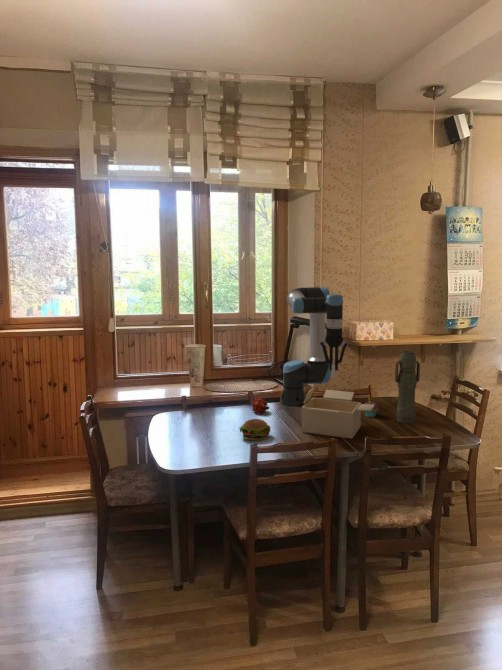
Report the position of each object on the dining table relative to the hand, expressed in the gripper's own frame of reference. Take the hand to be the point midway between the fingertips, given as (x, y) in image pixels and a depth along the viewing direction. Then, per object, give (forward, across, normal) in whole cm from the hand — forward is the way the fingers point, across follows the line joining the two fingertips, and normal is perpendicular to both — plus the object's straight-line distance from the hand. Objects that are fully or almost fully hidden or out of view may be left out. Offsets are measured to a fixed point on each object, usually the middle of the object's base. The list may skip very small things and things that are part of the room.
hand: (333, 377), depth 244 cm
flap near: (+13, -1, -12) cm, 17 cm away
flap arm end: (+13, -13, -1) cm, 18 cm away
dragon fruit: (+25, -41, +13) cm, 50 cm away
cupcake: (+25, +15, +25) cm, 38 cm away
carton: (+25, 0, -2) cm, 25 cm away
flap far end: (+13, +12, -3) cm, 18 cm away
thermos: (+25, +32, +22) cm, 47 cm away
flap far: (+13, 0, +8) cm, 15 cm away
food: (+26, -32, -23) cm, 47 cm away
